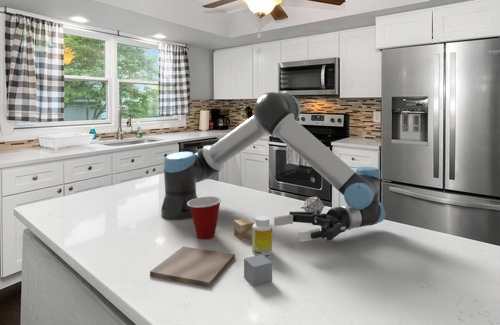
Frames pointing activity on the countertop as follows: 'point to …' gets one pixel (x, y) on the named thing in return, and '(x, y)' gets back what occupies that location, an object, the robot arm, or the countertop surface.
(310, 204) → the game die
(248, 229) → the oak block
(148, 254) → the countertop surface
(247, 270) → the slate block
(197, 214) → the plastic cup
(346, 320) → the countertop surface
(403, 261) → the countertop surface
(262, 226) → the supplement bottle
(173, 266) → the walnut board
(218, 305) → the countertop surface
